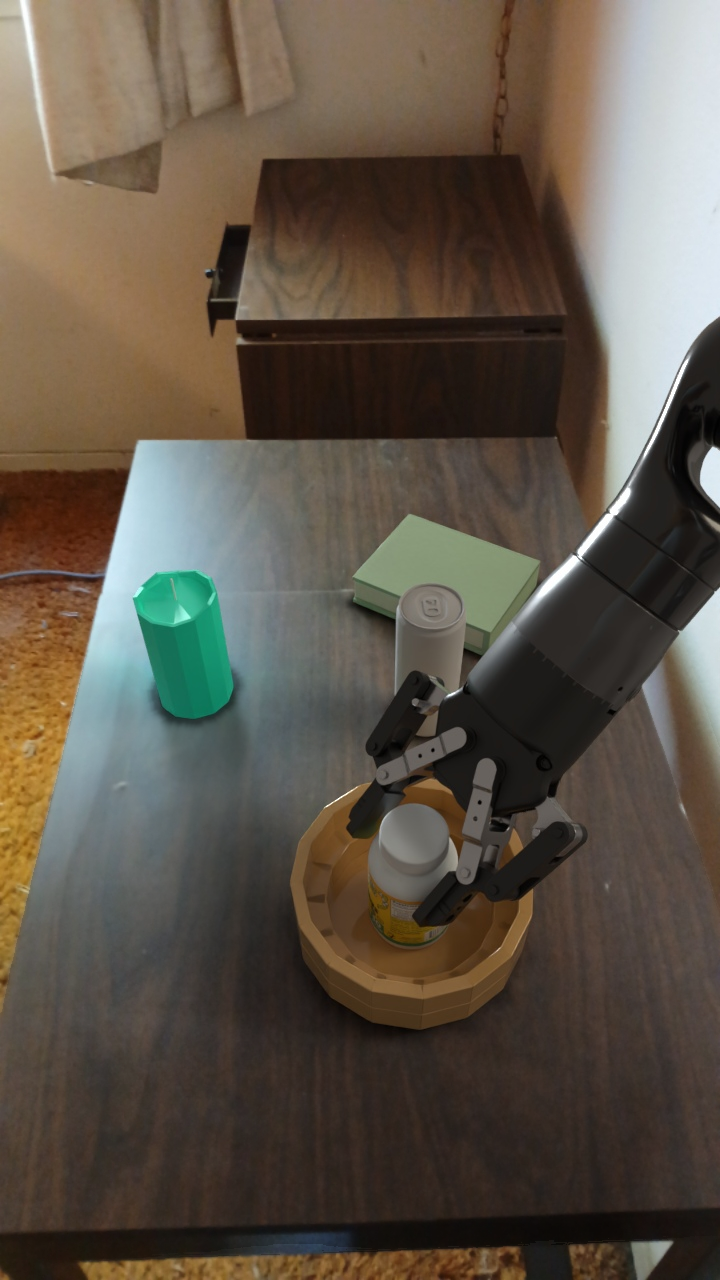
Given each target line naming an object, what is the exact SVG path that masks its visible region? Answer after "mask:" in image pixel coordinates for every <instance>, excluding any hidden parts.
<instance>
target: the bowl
mask: <svg viewBox="0 0 720 1280" xmlns="http://www.w3.org/2000/svg"><path fill="white" fill-rule="evenodd" d="M371 783H372V782H367V783H363V784H359V785H358V786H356V787H354V788H353V789H351V790H350V791H347V793H345V794H343V795H341V796H339V798H337V799H335V800H334V801H332V802H331V803H329V804H327V805H326V806H324V807H323V808H322V810H321V811H320V813H319V814H318V815H317V817H316V818H315V819H314V821H313V822H312V823H311V825H310V826H309V827H308V829H307V830H306V831H305V833H304V834H303V836H302V837H301V838H300V840H299V841H298V844H297V849H296V854H295V857H294V862H293V866H292V870H291V876H290V880H289V886H290V888H289V889H290V894H291V901H292V910H293V915H294V921H295V926H296V930H297V936H298V940H299V941H298V942H299V945H300V951H301V956H302V959H303V961H304V963H305V965H307V967H308V968H309V970H310V971H311V973H312V974H313V976H314V977H315V978H316V980H317V981H318V982H319V984H320V985H321V987H322V988H323V990H324V991H325V993H326V994H327V995H328V996H329V997H330V998H331V999H333V1000H334V1001H336V1002H337V1003H339V1004H341V1005H342V1006H344V1007H346V1008H347V1009H349V1010H350V1011H352V1012H354V1013H356V1014H357V1015H358V1016H360V1017H362V1018H363V1019H365V1020H366V1021H369V1022H370V1023H372V1024H379V1025H387V1026H393V1027H399V1028H406V1029H412V1030H418V1031H419V1030H424V1029H428V1028H429V1029H430V1028H433V1027H438V1026H440V1025H444V1024H448V1023H452V1022H456V1021H460V1020H464V1019H466V1018H469V1017H470V1016H471V1015H473V1014H474V1013H475V1012H477V1011H478V1010H479V1009H480V1008H481V1007H483V1006H484V1005H485V1004H486V1003H488V1002H489V1001H490V1000H492V998H494V997H495V996H497V995H498V994H499V993H500V992H501V991H502V990H504V989H505V987H506V985H507V983H508V981H509V979H510V977H511V974H512V972H513V971H514V969H515V966H516V965H517V963H518V961H519V958H520V957H521V955H522V953H523V951H524V947H525V944H526V941H527V937H528V934H529V933H528V932H529V929H530V926H531V922H532V919H533V914H534V913H533V911H534V909H533V907H534V888H533V889H532V890H530V891H529V892H528V893H527V894H526V895H525V896H524V897H522V898H521V899H520V900H517V901H509V900H507V901H501V902H491V901H489V900H488V899H487V898H486V896H485V894H483V893H481V892H478V894H477V895H476V896H475V897H474V898H473V899H472V900H471V902H470V903H469V904H468V905H467V906H466V907H465V908H464V909H463V911H462V912H461V913H460V914H459V915H458V917H457V918H456V919H455V920H454V921H453V922H452V923H450V924H449V926H448V928H447V930H446V932H445V933H444V935H443V936H442V937H441V938H440V939H439V940H438V941H436V942H435V943H433V944H431V945H430V946H427V947H425V948H421V949H402V948H398V947H395V946H393V945H391V944H389V943H388V942H386V941H385V940H384V939H383V938H382V937H381V936H380V935H379V934H378V932H377V931H376V929H375V928H374V926H373V924H372V922H371V919H370V915H369V898H368V854H369V849H370V846H371V843H372V841H373V839H374V838H375V836H376V835H377V834H378V833H379V831H380V828H379V830H378V831H377V832H376V833H375V835H373V836H372V837H371V838H369V839H354V838H352V836H351V835H350V834H349V832H348V831H347V830H346V826H347V825H348V823H349V822H350V821H351V820H350V819H349V818H348V817H349V814H350V811H351V809H352V807H353V806H354V805H355V803H356V802H357V801H358V800H359V798H361V796H362V795H363V793H364V792H365V791H366V790H367V788H368V787H369V786H370V785H371ZM403 792H404V793H405V794H406V796H405V798H404V799H403V800H402V801H401V803H400V804H399V805H398V806H401V805H404V804H412V803H413V804H422V805H426V806H428V807H431V808H432V809H434V810H436V811H437V812H438V813H439V814H440V815H441V816H442V817H443V818H444V820H445V821H446V823H447V825H448V829H449V837H450V838H451V840H452V841H453V843H454V845H455V848H456V851H457V855H458V861H459V857H460V854H461V850H462V846H463V842H464V838H463V837H462V829H463V825H464V821H465V817H466V814H467V813H466V812H465V811H464V810H463V809H462V808H461V807H460V805H459V804H458V803H457V801H456V799H455V797H454V795H453V793H452V791H451V790H450V789H448V788H447V787H445V786H444V785H442V784H440V783H439V781H438V780H437V779H434V778H430V779H428V780H425V781H423V782H421V783H418V784H416V785H414V786H411V787H409V788H404V790H403ZM398 806H397V807H398ZM491 819H492V818H490V821H491ZM489 823H490V822H489ZM523 848H524V845H523V843H522V841H521V839H520V836H519V834H518V831H516V830H515V828H513V831H512V835H511V839H510V841H509V843H508V844H507V845H506V846H505V847H504V849H503V853H502V857H501V860H500V864H499V868H498V870H500V869H501V868H502V867H503V866H504V865H506V864H507V863H508V862H509V861H510V860H511V859H512V858H513V857H514V856H516V855H517V854H518V853H519V852H520V851H521V850H522V849H523Z"/></svg>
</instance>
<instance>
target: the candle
mask: <svg viewBox="0 0 720 1280" xmlns="http://www.w3.org/2000/svg"><path fill="white" fill-rule="evenodd" d="M132 601H133V604H134V608H135V611H136V612H135V613H136V615H137V619H138V622H139V627H140V630H141V633H142V638H143V643H144V645H145V648H146V653H147V655H148V660H149V663H150V668H151V671H152V674H153V678H154V683H155V686H156V688H157V694H158V697H159V700H160V703H161V707H162V708H163V709H164V710H166V711H167V712H168V713H170V714H171V715H173V716H174V717H177V718H185V719H192V720H196V719H197V720H198V719H200V718H204V717H207V716H211V715H215V714H216V713H217V712H218V711H220V709H222V708H223V707H224V706H226V705H227V703H229V702H230V698H231V697H232V693H233V690H234V688H235V687H234V685H235V684H234V680H233V675H232V669H231V664H230V663H231V662H230V657H229V652H228V646H227V641H226V640H227V639H226V636H225V635H226V634H225V629H224V624H223V618H222V617H223V616H222V612H221V611H222V610H221V607H220V606H221V605H220V601H219V594H218V591H217V588H216V585H215V583H214V579H213V577H212V576H210V575H208V574H206V573H205V572H203V571H201V570H200V569H182V570H169V571H157V572H155V573H153V575H151V577H149V578H148V579H147V580H146V581H145V582H144V583H143V584H142V585H140V586H139V588H138V589H137V591H136V592H135V593H134V595H133V596H132Z"/></svg>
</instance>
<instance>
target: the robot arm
mask: <svg viewBox="0 0 720 1280" xmlns="http://www.w3.org/2000/svg"><path fill="white" fill-rule="evenodd" d="M712 448H715V449H717V450H718V451H719V452H720V315H719V316H718V317H716V318H715V319H714V320H712V321H711V322H710V323H709V324H707V326H705V327H704V328H703V329H702V330H701V331H700V332H699V334H698V335H697V336H696V337H695V339H694V340H693V341H692V343H691V344H690V346H689V348H688V349H687V351H686V353H685V355H684V357H683V359H682V361H681V362H680V365H679V367H678V369H677V371H676V374H675V376H674V379H673V380H672V382H671V386H670V388H669V390H668V393H667V396H666V398H665V400H664V403H663V405H662V408H661V410H660V412H659V414H658V417H657V418H656V421H655V423H654V425H653V428H652V430H651V432H650V434H649V436H648V438H647V440H646V442H645V444H644V446H643V448H642V451H641V452H640V454H639V456H638V458H637V460H636V462H635V463H634V466H633V468H632V469H631V471H630V473H629V474H628V477H627V478H626V480H625V481H624V484H623V485H622V487H621V488H620V489H619V492H617V495H616V497H614V498H613V500H612V501H611V503H610V504H609V505H608V506H607V508H606V509H605V510H604V511H603V513H602V514H601V515H600V517H599V518H598V519H597V520H596V522H595V523H594V524H593V525H592V526H591V527H590V529H589V530H588V532H587V533H586V534H585V536H584V537H583V538H582V539H581V541H579V543H578V544H577V545H576V547H575V548H573V549H574V550H573V551H571V552H570V553H569V555H568V556H567V557H566V558H565V559H564V560H563V561H561V563H560V564H559V565H558V566H557V567H555V569H553V570H552V572H550V573H549V575H547V577H546V578H545V579H543V581H542V582H541V583H540V584H539V585H538V586H537V587H536V588H535V589H534V590H533V592H532V593H531V595H530V596H529V598H528V599H527V600H526V602H525V603H524V605H523V606H522V608H521V609H520V610H519V611H518V613H517V614H516V615H515V616H514V618H513V619H512V620H511V621H510V623H509V624H508V625H507V626H506V628H505V629H504V630H503V631H502V633H501V634H500V635H499V637H498V638H497V639H496V640H495V642H494V643H493V644H492V645H491V647H490V648H489V649H488V650H487V652H486V653H485V654H484V655H483V656H481V658H480V659H479V661H478V662H477V663H476V664H475V665H474V667H473V668H472V669H471V670H470V671H469V673H468V675H467V677H466V681H465V683H464V685H462V686H461V687H459V689H458V690H457V691H455V692H452V693H451V692H450V691H449V690H447V689H446V688H445V685H444V681H443V680H442V679H441V678H439V677H436V676H433V675H430V674H427V673H423V672H420V671H417V670H414V671H412V672H410V673H409V674H408V676H407V677H406V679H405V681H404V682H403V684H402V685H401V687H400V689H399V690H398V692H397V693H396V695H395V694H394V696H393V698H392V699H391V702H390V703H389V705H388V706H387V708H386V709H385V711H384V713H383V714H382V716H381V718H380V719H379V721H378V722H377V724H376V725H375V727H374V729H373V731H372V732H371V734H370V735H369V737H368V738H367V740H366V742H365V745H364V746H365V747H364V748H365V752H366V754H367V755H368V756H369V757H372V759H373V762H374V764H375V767H376V772H375V778H374V779H373V781H372V782H370V783H371V785H370V786H369V787H368V788H367V790H366V791H365V792H364V793H363V795H362V796H361V798H359V800H358V801H357V802H356V803H355V805H354V806H353V807H352V809H351V811H350V814H349V817H348V818H349V819H350V820H351V821H350V822H349V823H348V825H347V826H346V830H347V831H348V832H349V834H350V835H351V836H352V838H354V839H369V838H371V837H372V836H373V835H375V833H376V832H377V831H378V830H379V828H380V826H381V823H382V821H383V819H384V817H385V816H386V815H387V814H388V813H389V812H390V811H391V810H393V809H394V808H396V807H397V806H398V805H399V804H400V803H401V801H402V800H403V799H404V798H405V796H406V794H405V793H404V792H403V790H404V788H409V787H411V786H414V785H416V784H418V783H421V782H423V781H425V780H428V779H435V780H438V781H439V783H440V784H442V785H444V786H445V787H447V788H448V789H450V790H451V791H452V793H453V795H454V797H455V799H456V801H457V803H458V804H459V805H460V807H461V808H462V809H463V810H464V811H465V812H466V813H467V814H466V817H465V821H464V825H463V829H462V837H463V838H464V842H463V846H462V850H461V854H460V857H459V861H458V865H457V869H456V871H449V872H448V873H447V874H446V875H445V876H444V877H443V879H442V880H441V881H440V882H439V883H438V884H437V886H436V887H435V888H434V889H433V890H432V892H431V893H430V894H429V895H428V896H427V897H426V899H425V900H424V901H423V902H422V903H421V904H420V906H419V907H418V908H417V909H416V910H415V911H414V913H413V914H412V918H413V919H414V921H415V922H416V923H417V925H418V926H419V927H429V926H431V927H437V926H445V925H448V924H450V923H452V922H453V921H454V920H455V919H456V918H457V917H458V915H459V914H460V913H461V912H462V911H463V909H464V908H465V907H466V906H467V905H468V904H469V903H470V902H471V900H472V899H473V898H474V897H475V896H476V895H477V894H478V892H481V893H483V894H485V896H486V898H487V899H488V900H489V901H491V902H501V901H507V900H509V901H517V900H520V899H521V898H522V897H524V896H525V895H526V894H527V893H528V892H529V891H530V890H532V889H533V890H534V888H535V887H537V886H538V885H539V884H540V883H541V882H542V881H543V880H544V879H545V878H547V877H548V876H549V875H550V874H551V873H552V872H553V871H555V870H556V869H557V868H558V867H560V865H562V864H563V863H564V862H565V861H566V860H568V859H569V858H570V857H571V856H572V855H573V854H574V853H575V852H577V851H578V850H579V849H580V848H581V847H582V846H583V845H584V844H586V842H587V841H588V839H589V832H588V829H587V827H586V826H584V824H583V823H579V822H574V821H573V820H572V819H571V817H570V816H569V815H568V813H567V812H566V810H565V809H564V808H563V807H562V806H561V804H560V802H559V801H558V800H557V799H556V796H557V793H558V789H559V785H560V782H561V780H562V778H563V776H564V775H565V773H567V772H568V770H570V769H571V768H572V767H573V766H574V765H575V764H576V763H577V762H578V761H579V759H580V758H581V757H582V756H583V755H584V753H585V752H586V751H587V750H588V749H589V747H590V746H591V745H592V744H593V743H594V742H595V740H596V739H597V738H598V737H599V736H600V735H601V733H603V732H604V730H605V729H606V727H607V726H608V725H609V724H610V723H611V722H612V721H613V719H615V717H616V716H617V715H618V714H619V713H620V712H621V711H622V709H623V708H624V707H625V706H626V704H627V703H628V702H631V701H632V700H634V698H635V697H636V696H637V695H638V694H639V693H640V692H641V690H642V688H643V685H644V684H645V682H647V680H648V679H649V678H650V677H651V676H652V674H653V673H654V672H655V670H656V669H657V668H658V666H659V665H660V663H661V662H662V661H663V659H664V657H665V655H666V654H667V653H668V651H669V650H670V648H671V646H672V645H673V644H674V642H675V640H676V639H677V638H678V637H679V636H680V632H683V631H684V630H685V628H686V627H688V625H689V624H690V623H691V622H692V620H693V619H694V618H695V617H696V616H697V615H698V613H700V611H701V610H702V609H703V607H705V605H706V604H707V603H708V602H709V600H711V598H712V597H713V596H714V595H715V593H716V592H717V591H718V590H719V589H720V506H719V505H718V504H717V503H716V502H715V501H714V500H713V498H711V497H710V495H708V494H707V492H706V490H705V489H704V487H703V486H702V484H701V473H702V468H703V464H704V462H705V458H706V457H707V456H708V454H709V452H710V450H712ZM436 711H438V718H437V725H436V733H435V736H434V738H432V739H430V740H428V741H426V742H423V743H421V744H418V745H416V746H414V747H412V748H410V749H408V748H409V746H410V745H411V743H412V741H413V740H414V738H416V737H415V736H417V735H416V734H417V732H418V730H419V729H420V727H421V726H422V724H423V722H424V721H425V719H426V718H427V716H431V715H433V714H434V713H435V712H436ZM407 749H408V750H407ZM532 811H536V813H537V819H536V822H535V823H534V825H532V827H531V831H530V835H531V838H532V840H531V841H530V842H529V843H527V844H526V846H524V847H523V849H522V850H521V851H520V852H519V853H518V854H517V855H516V856H514V857H513V858H512V859H511V860H510V861H509V862H508V863H507V864H506V865H504V866H503V867H502V868H501V869H500V870H498V868H499V864H500V860H501V857H502V853H503V849H504V847H505V846H506V845H507V844H508V843H509V841H510V839H511V835H512V831H513V829H514V827H515V823H516V820H517V816H518V814H521V813H526V812H532ZM490 818H492V819H491V821H490ZM489 822H490V823H489Z"/></svg>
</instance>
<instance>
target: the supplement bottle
mask: <svg viewBox="0 0 720 1280" xmlns="http://www.w3.org/2000/svg"><path fill="white" fill-rule="evenodd" d="M457 865H458V855H457V851H456V848H455V845H454V843H453V841H452V840H451V838H450V837H449V829H448V825H447V823H446V821H445V820H444V818H443V817H442V816H441V815H440V814H439V813H438V812H437V811H436V810H434V809H432V808H431V807H428V806H426V805H422V804H413V803H412V804H404V805H401V806H398V807H396V808H394V809H393V810H391V811H390V812H389V813H388V814H387V815H386V816H385V817H384V819H383V821H382V823H381V826H380V831H379V833H378V834H377V835H376V836H375V838H374V839H373V841H372V843H371V846H370V849H369V854H368V898H369V915H370V919H371V922H372V924H373V926H374V928H375V929H376V931H377V932H378V934H379V935H380V936H381V937H382V938H383V939H384V940H385V941H386V942H388V943H389V944H391V945H393V946H395V947H398V948H402V949H421V948H425V947H427V946H430V945H431V944H433V943H435V942H436V941H438V940H439V939H440V938H441V937H442V936H443V935H444V933H445V932H446V930H447V928H448V926H449V924H448V925H445V926H437V927H431V926H429V927H419V926H418V925H417V923H416V922H415V921H414V919H413V918H412V914H413V913H414V911H415V910H416V909H417V908H418V907H419V906H420V904H421V903H422V902H423V901H424V900H425V899H426V897H427V896H428V895H429V894H430V893H431V892H432V890H433V889H434V888H435V887H436V886H437V884H438V883H439V882H440V881H441V880H442V879H443V877H444V876H445V875H446V874H447V873H448V872H449V871H456V869H457Z"/></svg>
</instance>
